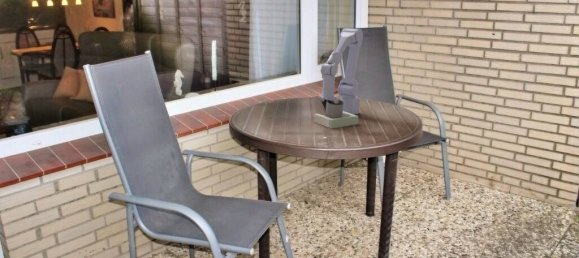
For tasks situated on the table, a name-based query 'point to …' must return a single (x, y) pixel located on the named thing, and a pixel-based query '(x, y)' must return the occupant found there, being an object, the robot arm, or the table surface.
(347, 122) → the stall
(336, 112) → the cup
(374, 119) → the table surface
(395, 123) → the table surface
